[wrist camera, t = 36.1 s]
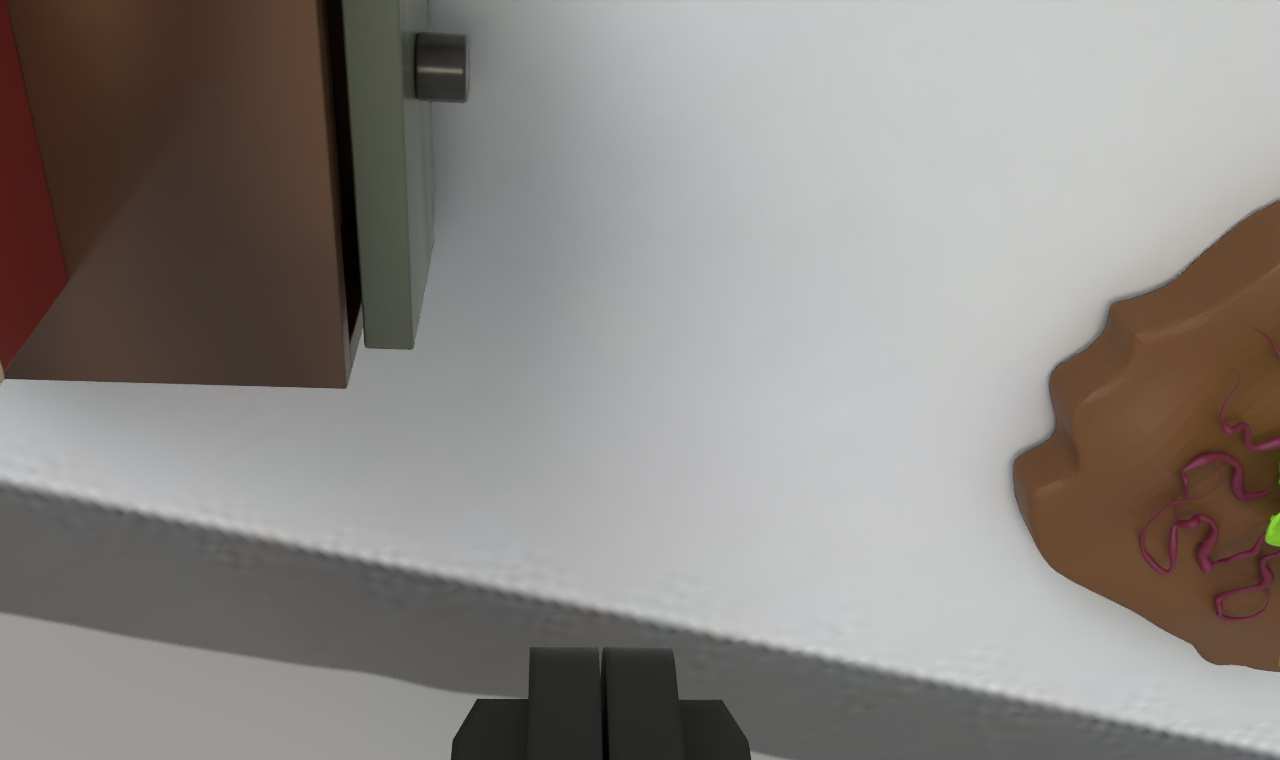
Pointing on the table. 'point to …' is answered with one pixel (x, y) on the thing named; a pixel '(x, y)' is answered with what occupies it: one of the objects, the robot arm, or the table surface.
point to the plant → (1175, 454)
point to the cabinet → (193, 191)
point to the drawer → (394, 152)
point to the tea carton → (22, 213)
